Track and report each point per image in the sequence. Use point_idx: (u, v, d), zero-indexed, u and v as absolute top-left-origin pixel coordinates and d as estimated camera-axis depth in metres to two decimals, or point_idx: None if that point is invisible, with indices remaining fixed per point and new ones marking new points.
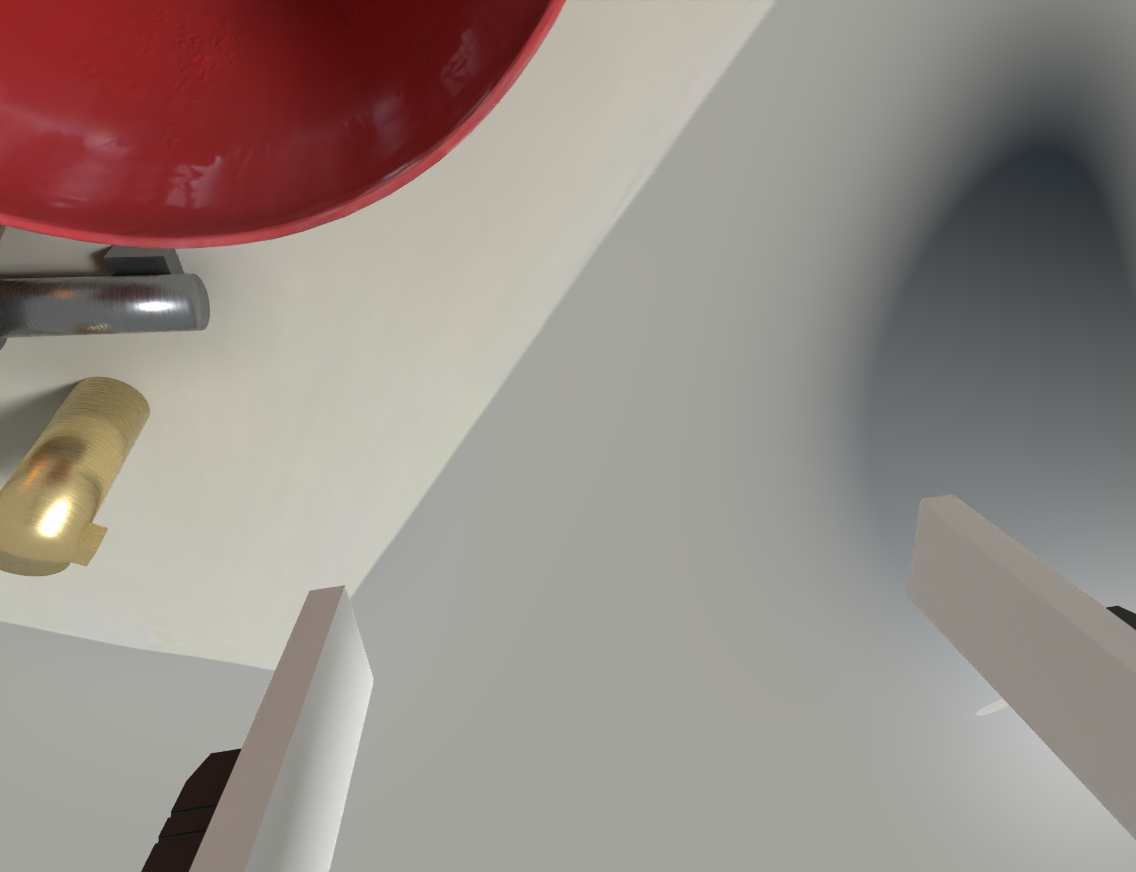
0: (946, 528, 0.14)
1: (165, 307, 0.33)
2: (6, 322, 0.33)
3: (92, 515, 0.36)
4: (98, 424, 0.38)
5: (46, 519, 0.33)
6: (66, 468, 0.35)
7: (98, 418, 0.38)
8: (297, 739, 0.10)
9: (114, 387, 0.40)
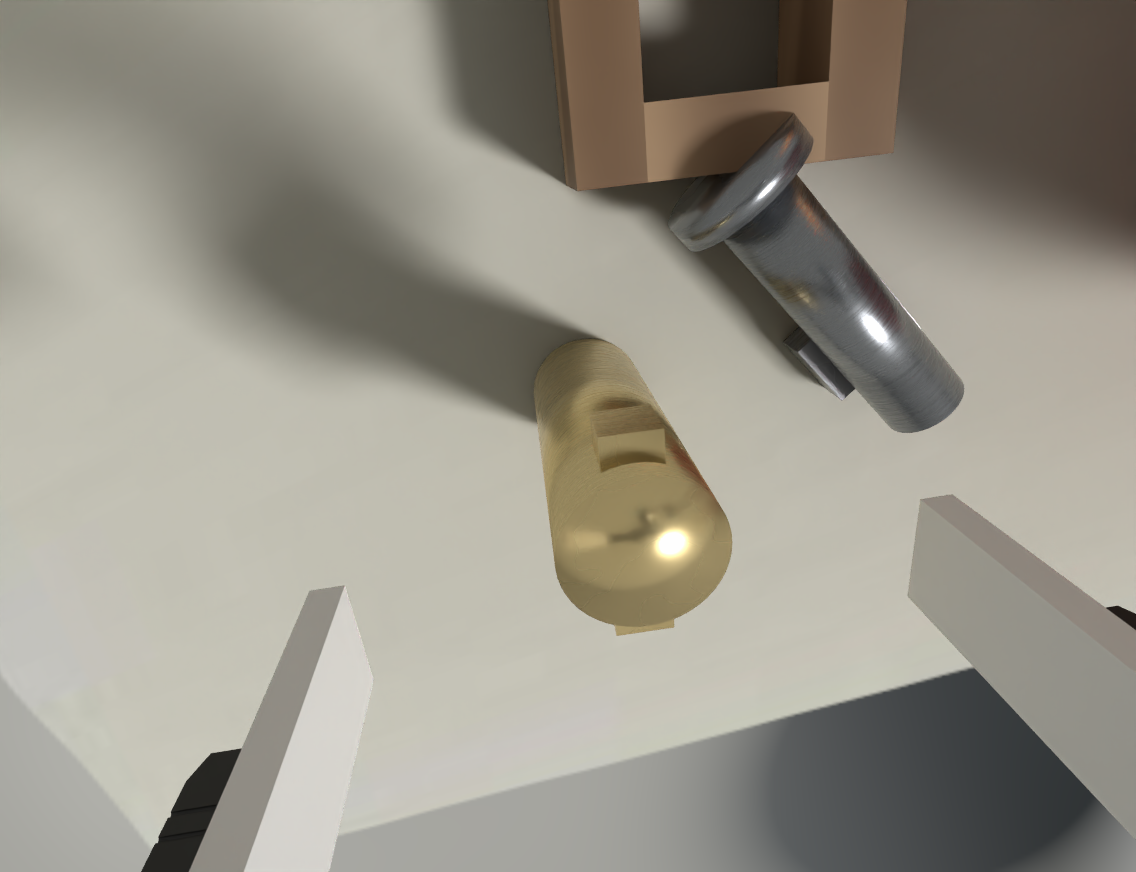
0: (946, 528, 0.14)
1: (943, 387, 0.23)
2: (806, 246, 0.21)
3: None
4: None
5: None
6: None
7: None
8: (297, 739, 0.10)
9: None
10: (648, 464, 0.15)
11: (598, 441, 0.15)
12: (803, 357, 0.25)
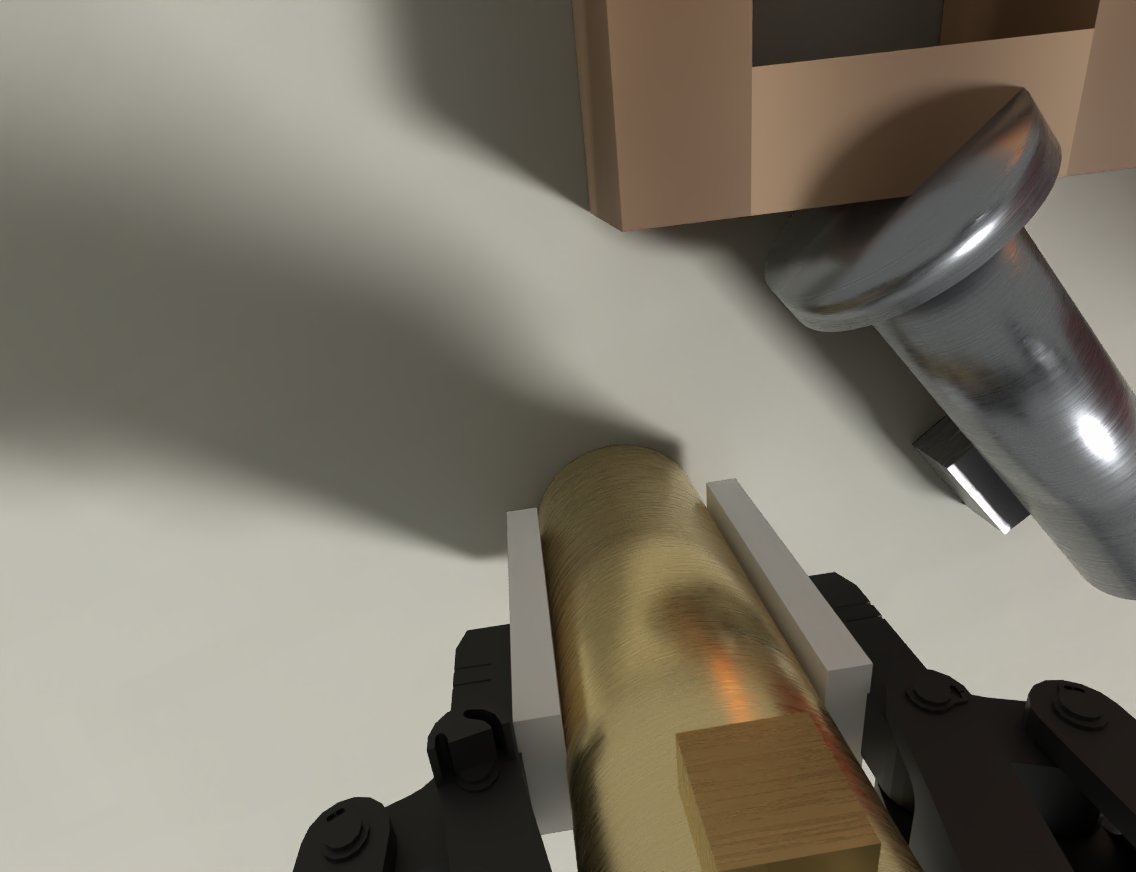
0: (718, 507, 0.15)
1: None
2: (1024, 326, 0.12)
3: None
4: None
5: None
6: None
7: None
8: (548, 614, 0.13)
9: None
10: None
11: None
12: (954, 475, 0.16)
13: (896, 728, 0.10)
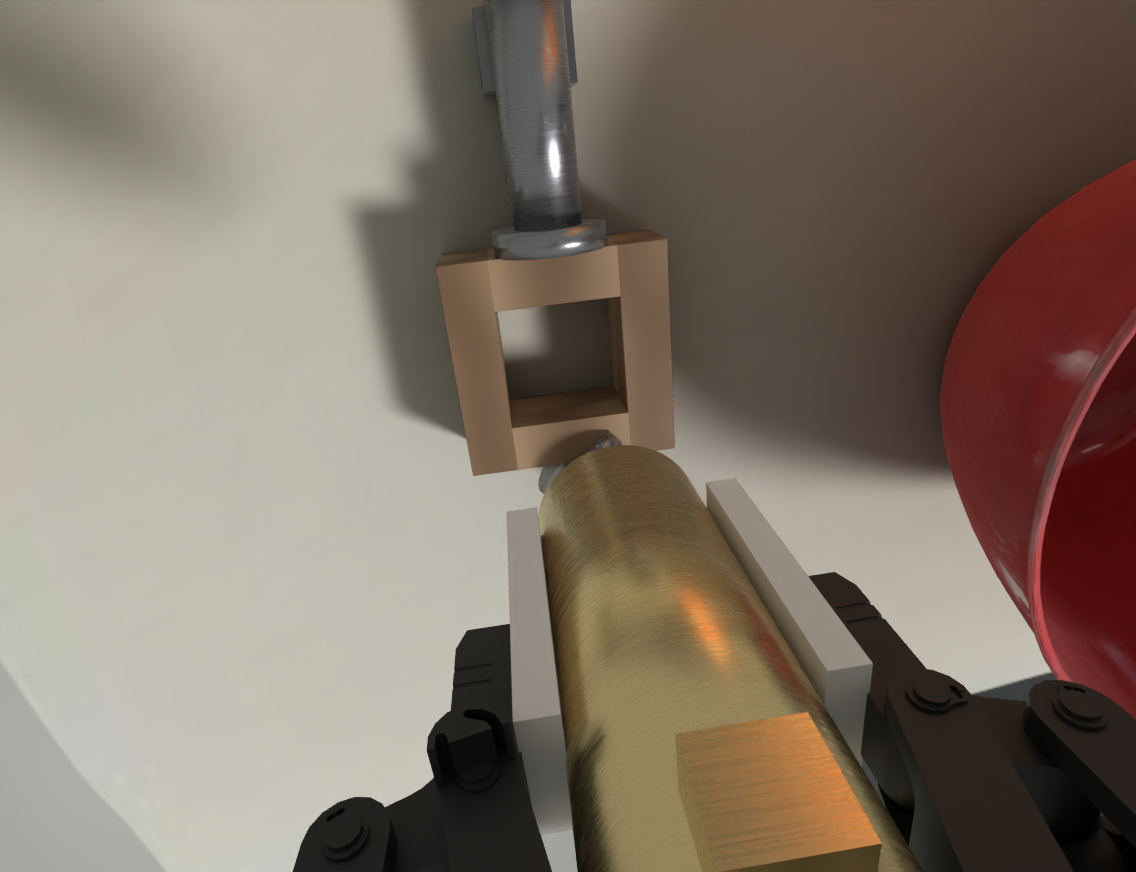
0: (718, 507, 0.15)
1: None
2: None
3: None
4: None
5: None
6: None
7: None
8: (548, 614, 0.13)
9: None
10: None
11: None
12: None
13: (897, 728, 0.10)
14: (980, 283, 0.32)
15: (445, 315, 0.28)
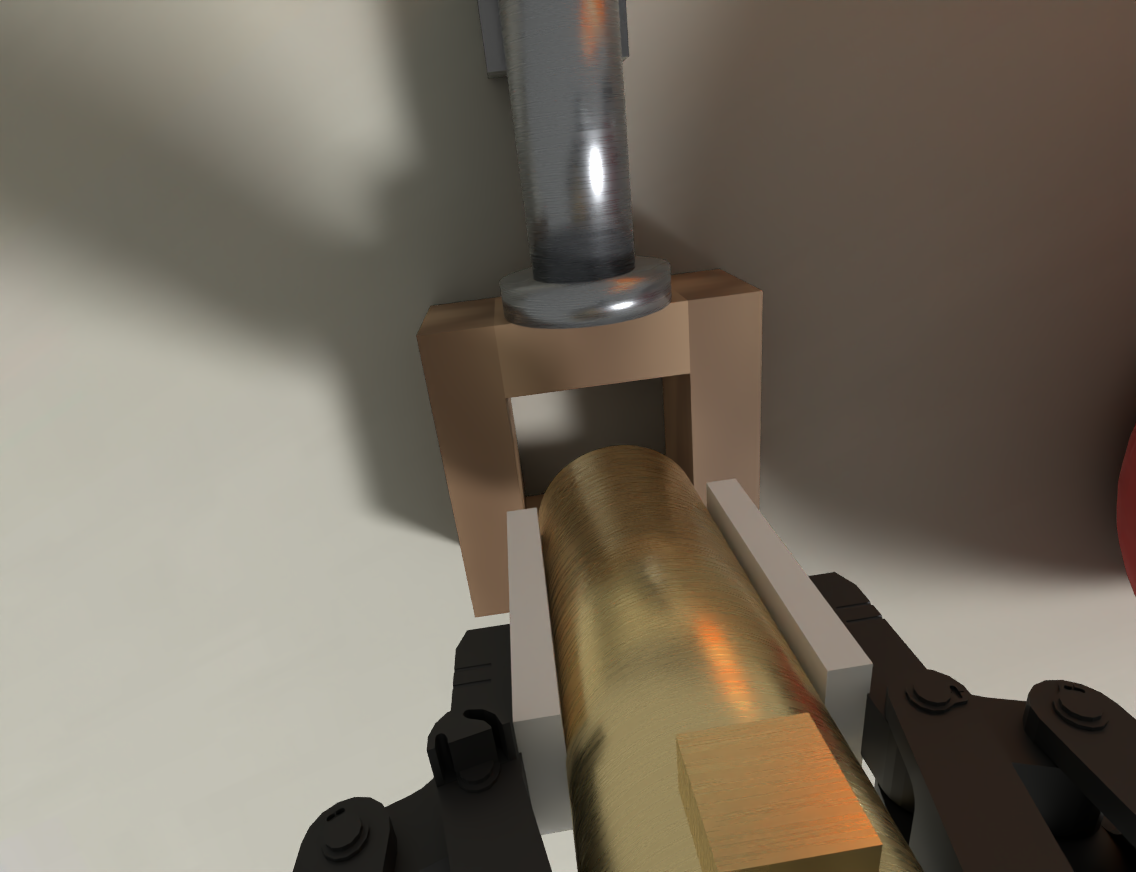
0: (718, 507, 0.15)
1: None
2: None
3: None
4: None
5: None
6: None
7: None
8: (548, 614, 0.13)
9: None
10: None
11: None
12: None
13: (897, 727, 0.10)
14: None
15: (432, 404, 0.19)
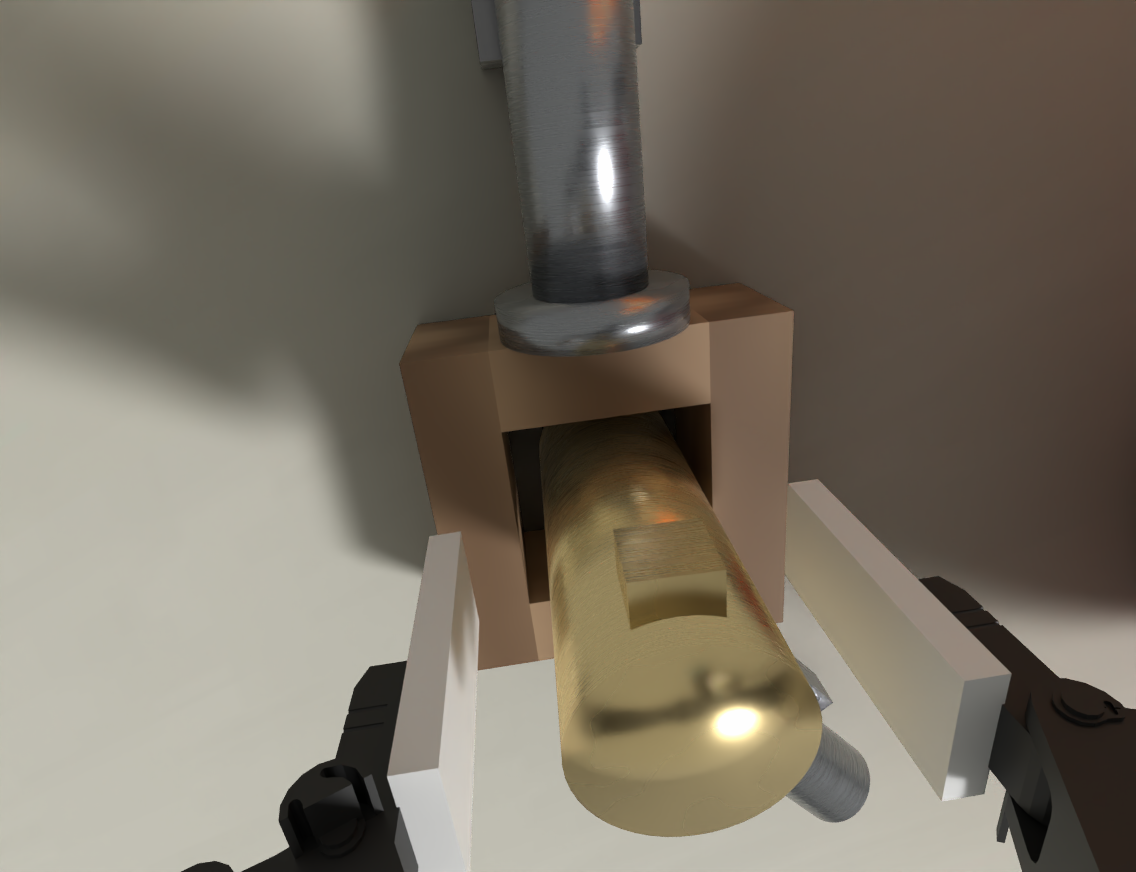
0: (804, 508, 0.15)
1: (846, 794, 0.23)
2: None
3: None
4: None
5: None
6: None
7: None
8: (451, 650, 0.12)
9: None
10: (700, 620, 0.10)
11: (627, 588, 0.10)
12: None
13: (1038, 734, 0.09)
14: None
15: (418, 439, 0.17)
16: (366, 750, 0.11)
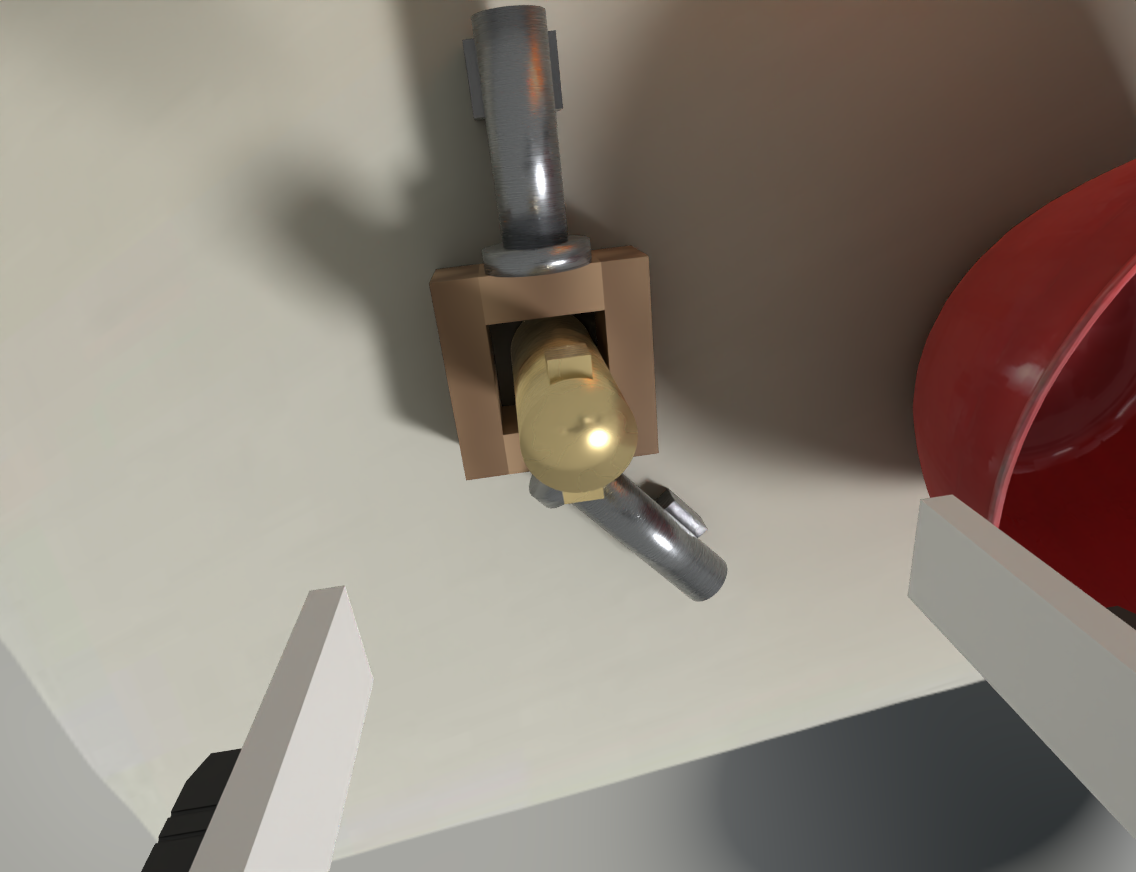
0: (946, 528, 0.14)
1: (709, 577, 0.36)
2: (609, 506, 0.34)
3: None
4: None
5: None
6: None
7: None
8: (297, 739, 0.10)
9: None
10: (580, 379, 0.23)
11: (547, 363, 0.23)
12: None
13: None
14: (950, 295, 0.33)
15: (438, 328, 0.30)
16: (176, 868, 0.09)
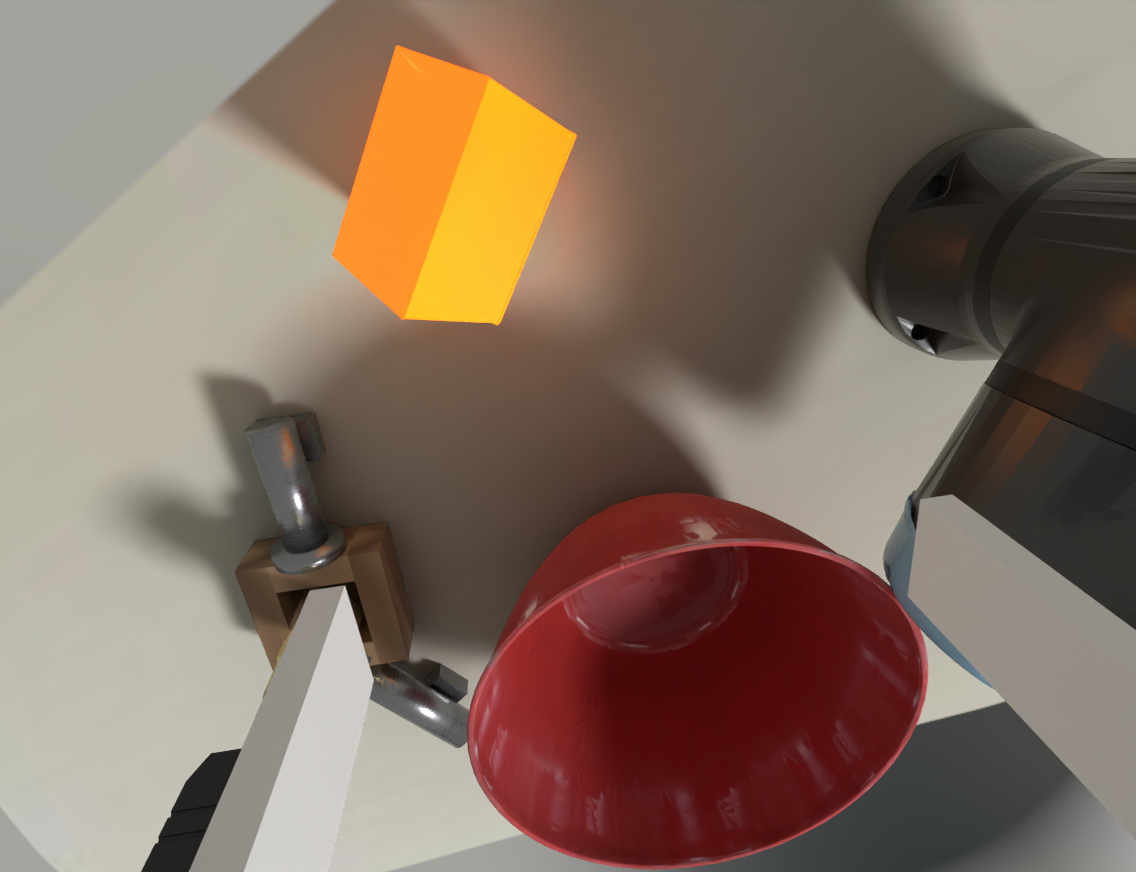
0: (946, 528, 0.14)
1: (458, 734, 0.52)
2: (376, 694, 0.50)
3: None
4: (360, 612, 0.47)
5: None
6: None
7: (360, 607, 0.48)
8: (297, 739, 0.10)
9: None
10: None
11: (277, 659, 0.39)
12: None
13: None
14: None
15: (245, 596, 0.46)
16: (175, 868, 0.09)
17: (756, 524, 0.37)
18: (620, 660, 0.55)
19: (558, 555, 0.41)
